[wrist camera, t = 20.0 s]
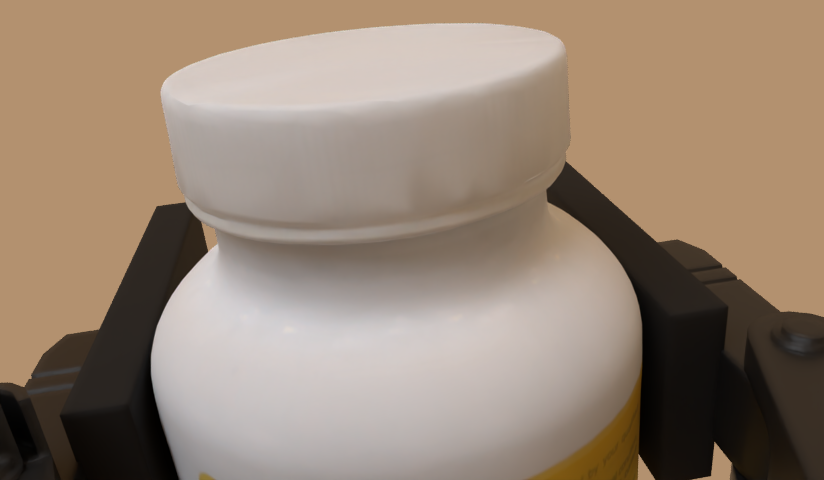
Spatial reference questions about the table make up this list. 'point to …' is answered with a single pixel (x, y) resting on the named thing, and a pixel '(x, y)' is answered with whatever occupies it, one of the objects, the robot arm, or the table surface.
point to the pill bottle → (391, 268)
